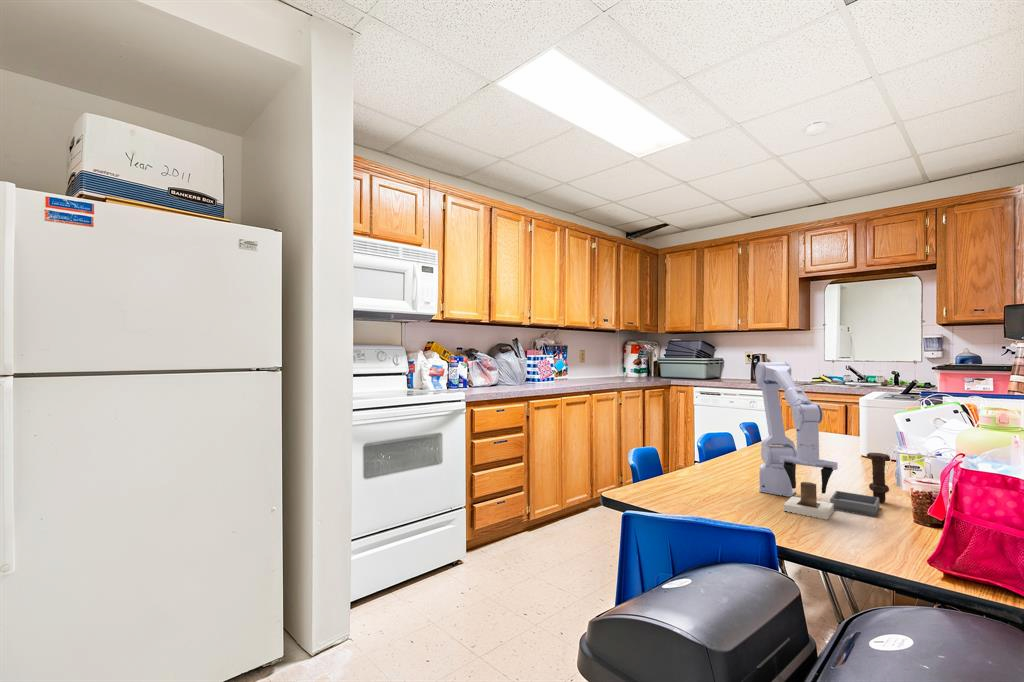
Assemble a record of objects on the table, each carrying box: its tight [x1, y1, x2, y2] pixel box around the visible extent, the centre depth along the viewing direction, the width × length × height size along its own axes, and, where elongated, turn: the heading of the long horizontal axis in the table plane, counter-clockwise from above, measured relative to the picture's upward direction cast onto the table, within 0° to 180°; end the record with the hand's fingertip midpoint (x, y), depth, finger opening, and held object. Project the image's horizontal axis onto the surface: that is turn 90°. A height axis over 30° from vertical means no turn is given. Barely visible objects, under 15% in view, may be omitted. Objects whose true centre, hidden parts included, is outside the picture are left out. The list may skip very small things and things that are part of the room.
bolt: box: [866, 452, 891, 504], centre depth 151 cm, size 6×5×15 cm
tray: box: [829, 490, 880, 517], centre depth 145 cm, size 11×11×3 cm
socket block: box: [783, 495, 835, 521], centre depth 143 cm, size 11×11×2 cm
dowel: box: [800, 481, 818, 508], centre depth 143 cm, size 4×4×8 cm
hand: (808, 490), depth 143 cm, fingers open, 7 cm apart
